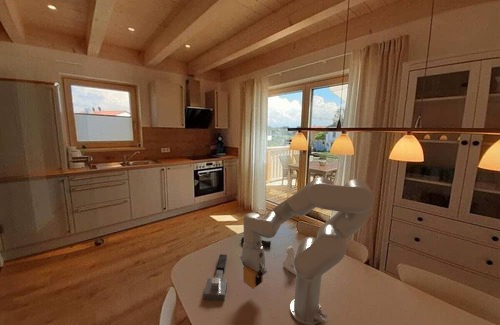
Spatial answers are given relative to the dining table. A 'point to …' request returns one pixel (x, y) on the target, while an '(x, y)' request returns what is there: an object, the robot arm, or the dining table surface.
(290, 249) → the seated beast figurine
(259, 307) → the dining table surface
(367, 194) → the robot arm
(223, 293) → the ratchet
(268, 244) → the hand tool
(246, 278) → the orange cube
